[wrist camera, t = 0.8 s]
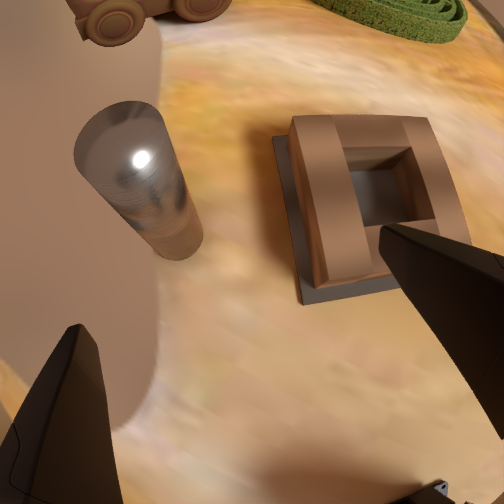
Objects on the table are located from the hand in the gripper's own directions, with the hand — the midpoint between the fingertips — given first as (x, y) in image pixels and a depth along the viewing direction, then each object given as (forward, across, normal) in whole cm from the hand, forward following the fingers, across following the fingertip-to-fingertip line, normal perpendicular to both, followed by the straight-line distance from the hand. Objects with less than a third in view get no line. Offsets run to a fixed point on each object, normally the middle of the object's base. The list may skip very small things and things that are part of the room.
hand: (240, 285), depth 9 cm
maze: (+38, -37, -16) cm, 56 cm away
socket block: (+12, -14, +7) cm, 20 cm away
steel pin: (+15, +2, +6) cm, 16 cm away
